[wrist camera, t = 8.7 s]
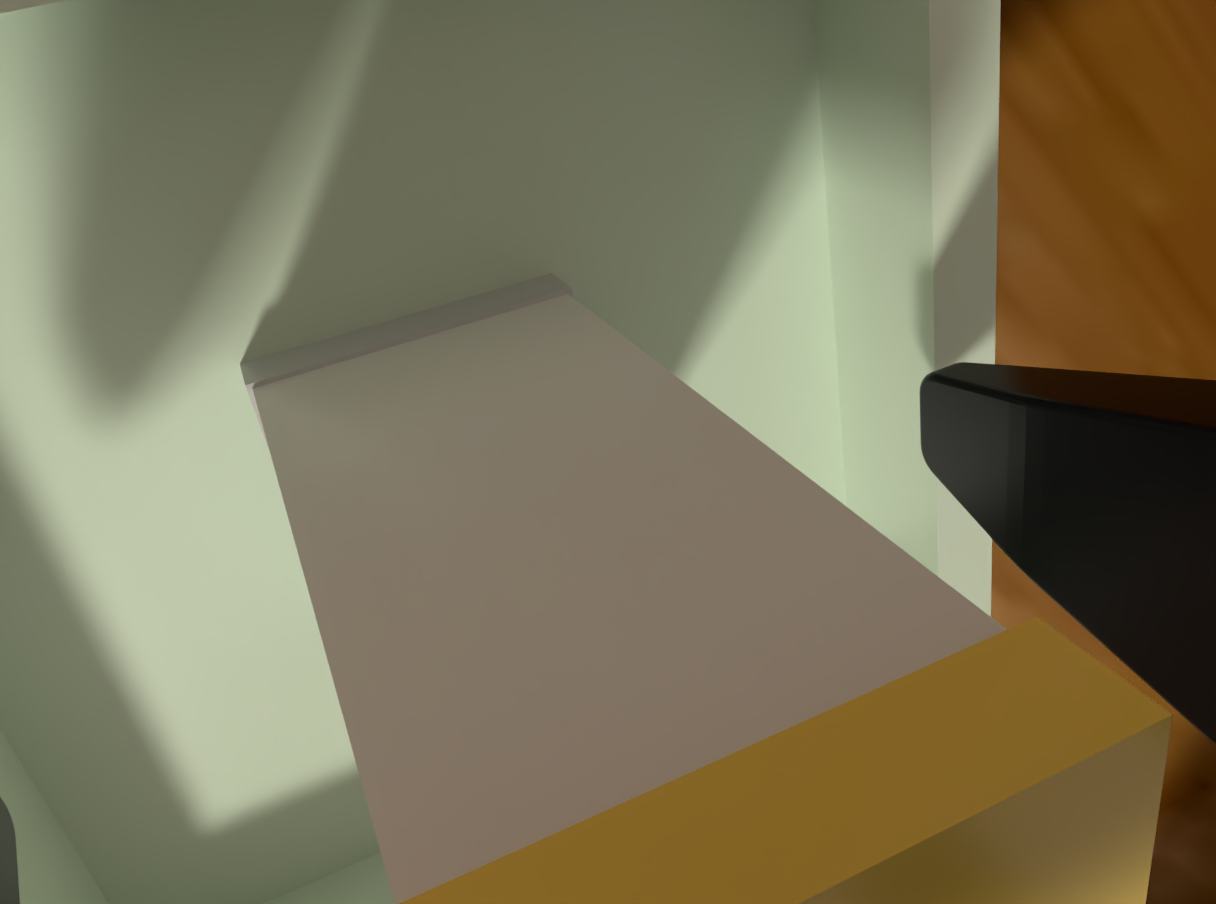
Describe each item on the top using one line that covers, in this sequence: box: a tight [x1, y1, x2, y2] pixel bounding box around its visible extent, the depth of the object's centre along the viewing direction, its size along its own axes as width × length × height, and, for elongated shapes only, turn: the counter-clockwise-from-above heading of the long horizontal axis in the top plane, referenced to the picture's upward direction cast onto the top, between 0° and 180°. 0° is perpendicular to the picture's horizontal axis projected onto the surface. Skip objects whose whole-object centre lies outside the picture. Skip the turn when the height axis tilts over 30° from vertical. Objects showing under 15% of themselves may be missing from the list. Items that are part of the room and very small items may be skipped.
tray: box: [0, 0, 1001, 904], centre depth 11 cm, size 12×12×2 cm
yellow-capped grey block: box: [240, 273, 1173, 904], centre depth 8 cm, size 3×3×8 cm
